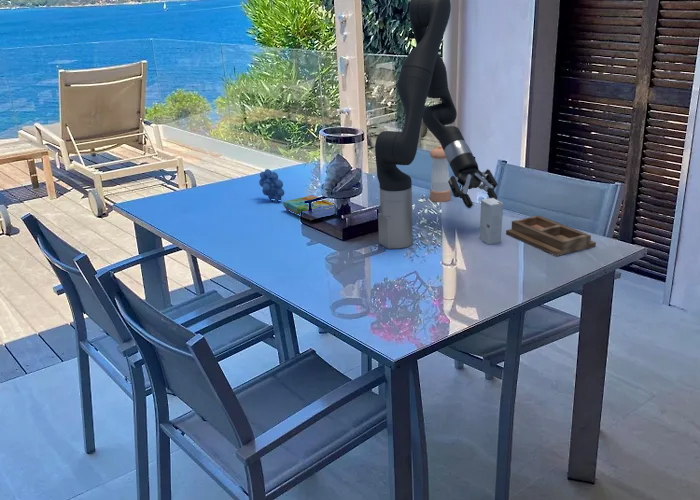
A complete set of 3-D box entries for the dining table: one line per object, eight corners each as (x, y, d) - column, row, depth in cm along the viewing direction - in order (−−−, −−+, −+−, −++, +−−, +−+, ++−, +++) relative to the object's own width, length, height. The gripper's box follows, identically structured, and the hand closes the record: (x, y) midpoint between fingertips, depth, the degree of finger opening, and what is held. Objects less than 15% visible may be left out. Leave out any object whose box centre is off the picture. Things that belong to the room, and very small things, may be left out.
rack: (556, 256, 187) (556, 243, 185) (506, 234, 206) (506, 222, 204) (595, 246, 192) (596, 234, 191) (543, 225, 211) (543, 214, 210)
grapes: (253, 202, 253) (249, 170, 249) (266, 197, 258) (263, 166, 254) (276, 206, 246) (273, 173, 242) (289, 201, 251) (286, 169, 247)
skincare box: (478, 238, 203) (479, 199, 199) (492, 236, 205) (493, 197, 200) (488, 245, 198) (489, 204, 194) (502, 242, 199) (503, 202, 195)
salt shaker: (426, 198, 245) (425, 145, 239) (443, 195, 248) (443, 142, 241) (437, 203, 239) (436, 149, 232) (454, 199, 242) (454, 146, 235)
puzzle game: (311, 192, 244) (342, 204, 229) (312, 205, 246) (343, 217, 230) (282, 199, 239) (312, 211, 223) (283, 212, 240) (313, 225, 224)
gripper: (445, 155, 201) (467, 202, 195) (485, 148, 207) (508, 193, 201) (435, 169, 208) (457, 215, 202) (475, 162, 213) (497, 206, 207)
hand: (482, 204), depth 201 cm, fingers open, 8 cm apart
